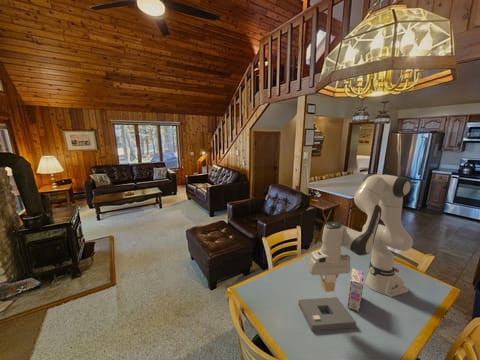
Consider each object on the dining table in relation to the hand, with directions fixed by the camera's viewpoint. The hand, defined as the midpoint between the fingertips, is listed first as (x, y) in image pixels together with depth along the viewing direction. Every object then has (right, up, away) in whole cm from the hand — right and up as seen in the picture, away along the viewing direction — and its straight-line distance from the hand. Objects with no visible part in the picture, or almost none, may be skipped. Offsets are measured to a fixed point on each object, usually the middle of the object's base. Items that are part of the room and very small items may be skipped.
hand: (328, 280), depth 101 cm
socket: (0, -19, +3) cm, 20 cm away
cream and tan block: (0, -4, +1) cm, 4 cm away
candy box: (+20, -18, +12) cm, 30 cm away
